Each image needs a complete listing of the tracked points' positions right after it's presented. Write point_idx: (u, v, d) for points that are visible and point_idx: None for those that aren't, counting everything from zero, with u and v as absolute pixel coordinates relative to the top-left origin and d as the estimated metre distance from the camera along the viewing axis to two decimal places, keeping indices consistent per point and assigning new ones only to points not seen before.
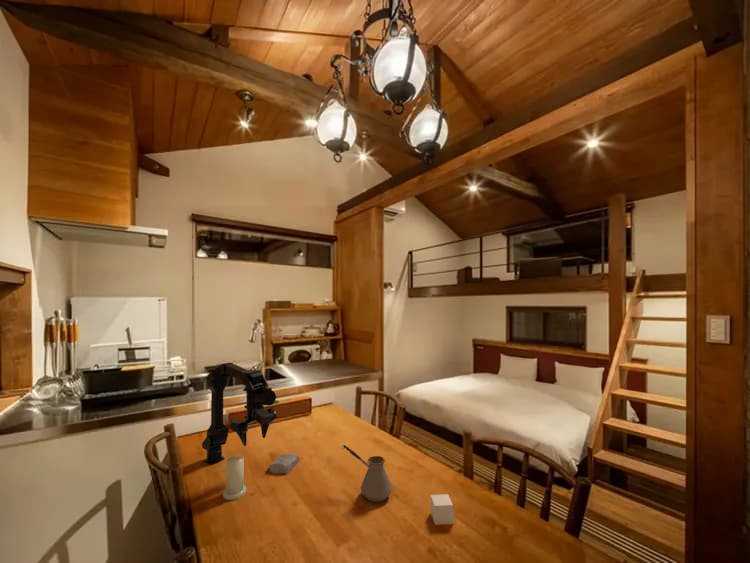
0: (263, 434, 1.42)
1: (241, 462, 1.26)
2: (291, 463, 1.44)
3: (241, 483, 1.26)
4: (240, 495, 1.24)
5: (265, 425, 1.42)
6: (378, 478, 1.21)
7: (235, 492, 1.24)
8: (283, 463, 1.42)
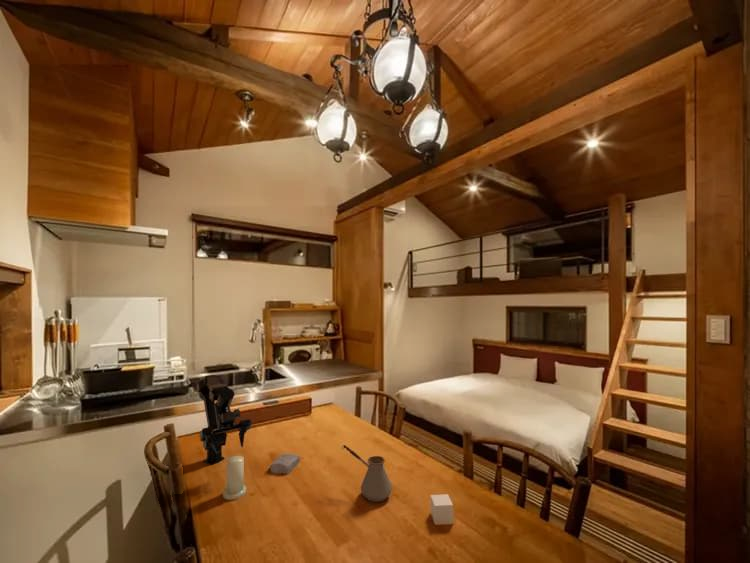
0: (241, 443, 1.37)
1: (241, 462, 1.26)
2: (292, 463, 1.44)
3: (241, 483, 1.26)
4: (240, 495, 1.24)
5: (240, 433, 1.39)
6: (378, 478, 1.21)
7: (235, 492, 1.24)
8: (284, 463, 1.42)
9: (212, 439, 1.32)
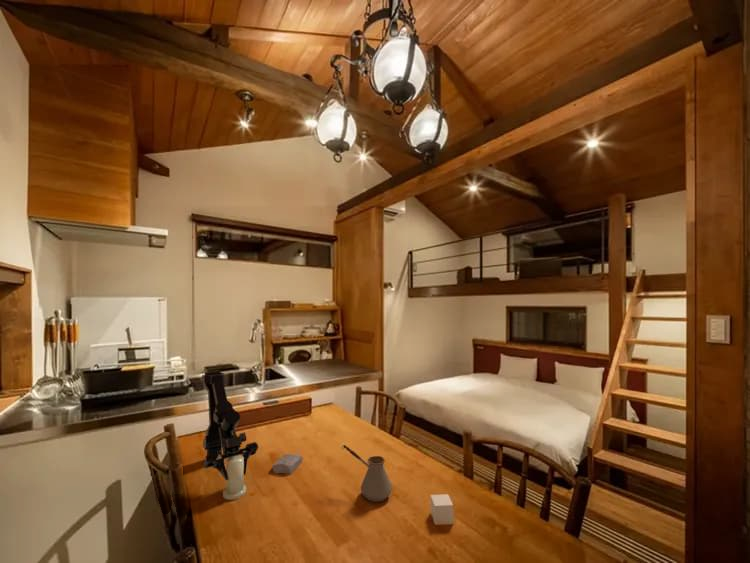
0: None
1: (241, 462, 1.26)
2: (294, 463, 1.43)
3: (241, 483, 1.26)
4: (240, 495, 1.24)
5: None
6: (378, 478, 1.21)
7: (235, 492, 1.24)
8: (286, 463, 1.41)
9: (221, 465, 1.25)
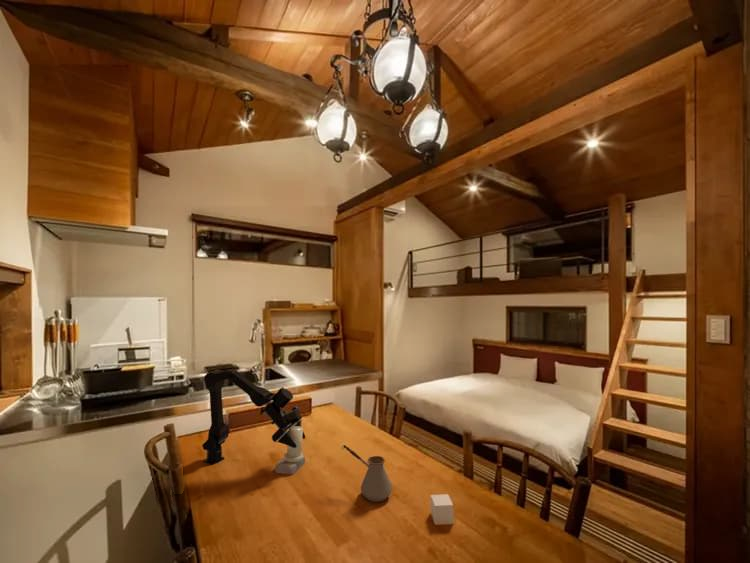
0: (302, 435, 1.50)
1: (302, 429, 1.48)
2: (297, 464, 1.43)
3: None
4: None
5: None
6: (378, 478, 1.21)
7: (299, 455, 1.45)
8: (289, 464, 1.41)
9: (288, 436, 1.40)
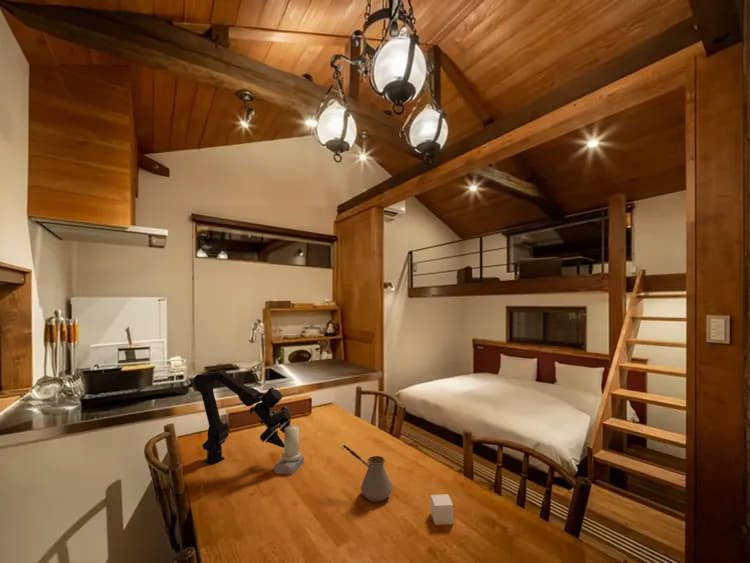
0: None
1: None
2: (296, 464, 1.43)
3: None
4: (300, 455, 1.47)
5: None
6: (378, 478, 1.21)
7: (297, 453, 1.46)
8: (288, 464, 1.41)
9: (277, 436, 1.41)
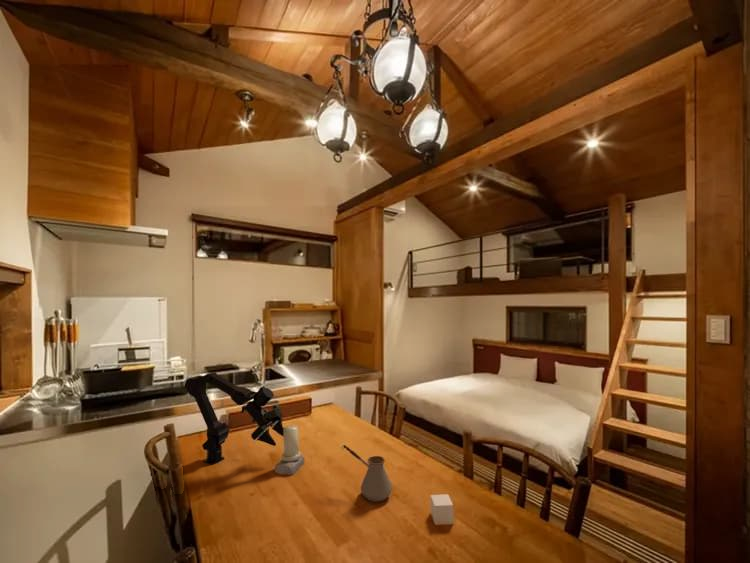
0: (283, 434, 1.52)
1: (297, 428, 1.49)
2: (296, 464, 1.43)
3: None
4: (300, 454, 1.47)
5: (279, 426, 1.53)
6: (378, 478, 1.21)
7: (297, 453, 1.46)
8: (288, 464, 1.41)
9: (268, 434, 1.42)
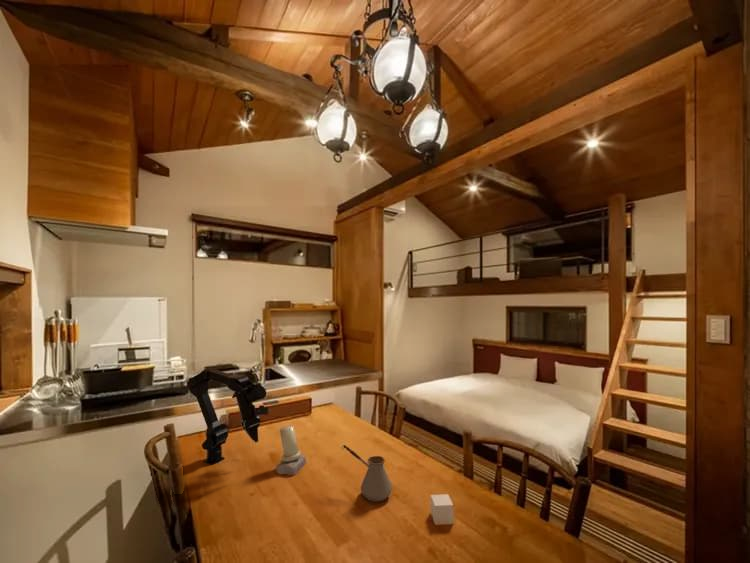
0: None
1: None
2: (298, 465, 1.42)
3: None
4: (300, 453, 1.47)
5: None
6: (378, 478, 1.21)
7: (296, 452, 1.45)
8: (290, 465, 1.40)
9: None
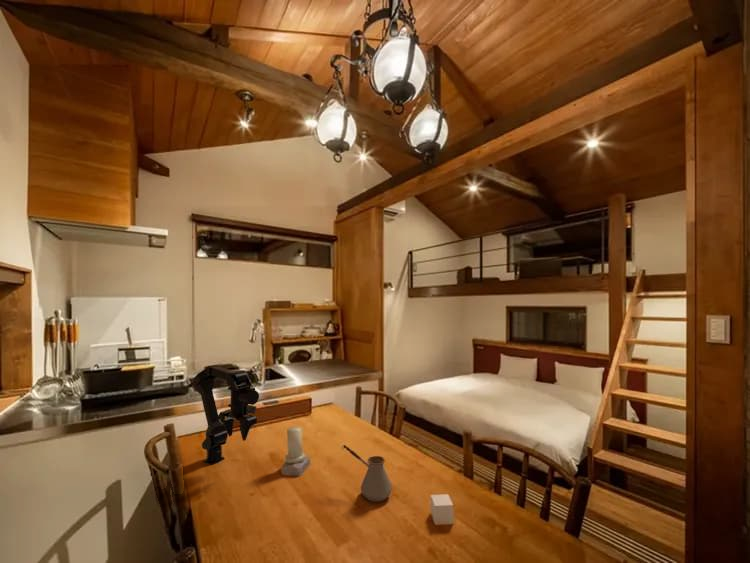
0: (230, 432, 1.47)
1: None
2: (303, 465, 1.42)
3: None
4: (304, 456, 1.46)
5: (231, 423, 1.48)
6: (378, 478, 1.21)
7: (301, 455, 1.44)
8: (295, 465, 1.40)
9: None
